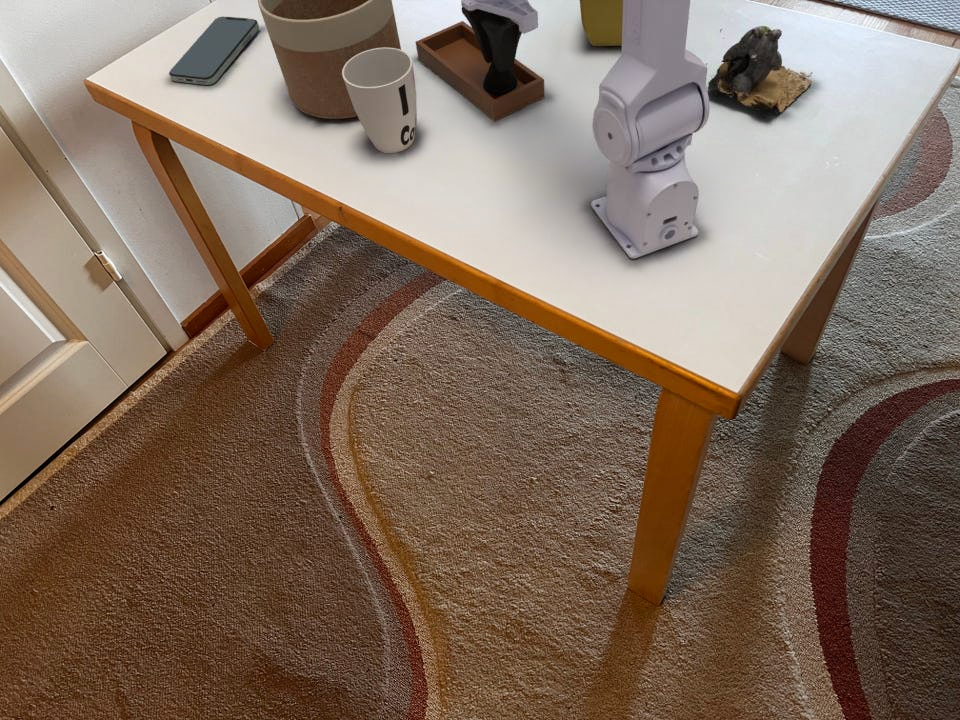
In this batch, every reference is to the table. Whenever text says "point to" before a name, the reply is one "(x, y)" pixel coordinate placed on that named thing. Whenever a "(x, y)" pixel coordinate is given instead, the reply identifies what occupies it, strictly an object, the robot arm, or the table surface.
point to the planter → (325, 46)
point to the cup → (383, 96)
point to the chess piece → (498, 78)
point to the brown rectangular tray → (476, 71)
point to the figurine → (759, 72)
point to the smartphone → (214, 50)
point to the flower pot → (602, 21)
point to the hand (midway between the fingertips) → (499, 64)
